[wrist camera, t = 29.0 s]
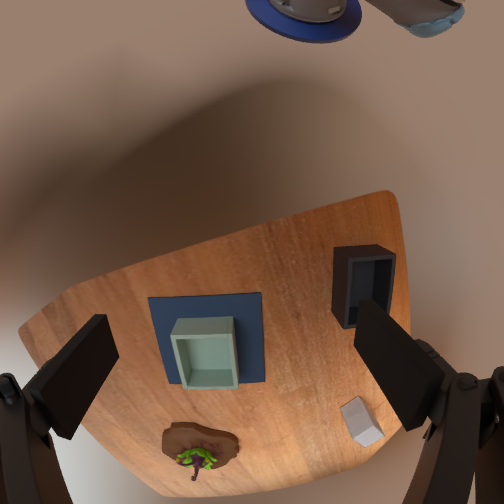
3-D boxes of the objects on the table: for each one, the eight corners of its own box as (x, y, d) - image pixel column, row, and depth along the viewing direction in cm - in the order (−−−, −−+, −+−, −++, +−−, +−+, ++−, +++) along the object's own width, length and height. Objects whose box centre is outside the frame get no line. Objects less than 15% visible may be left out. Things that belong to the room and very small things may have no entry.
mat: (148, 297, 46) (147, 298, 46) (260, 291, 46) (260, 293, 46) (169, 382, 51) (169, 383, 50) (264, 380, 51) (265, 381, 51)
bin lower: (333, 247, 45) (348, 258, 38) (377, 244, 45) (396, 254, 38) (331, 311, 48) (343, 329, 41) (372, 305, 48) (388, 322, 41)
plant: (155, 449, 58) (148, 478, 47) (170, 414, 53) (161, 449, 43) (221, 467, 60) (220, 497, 49) (248, 436, 56) (250, 471, 45)
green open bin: (177, 318, 47) (170, 335, 41) (233, 316, 47) (232, 333, 41) (188, 370, 50) (183, 389, 44) (238, 368, 50) (238, 389, 44)
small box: (339, 407, 55) (351, 438, 44) (358, 394, 54) (374, 425, 44) (352, 419, 56) (364, 448, 46) (370, 408, 56) (385, 436, 45)
